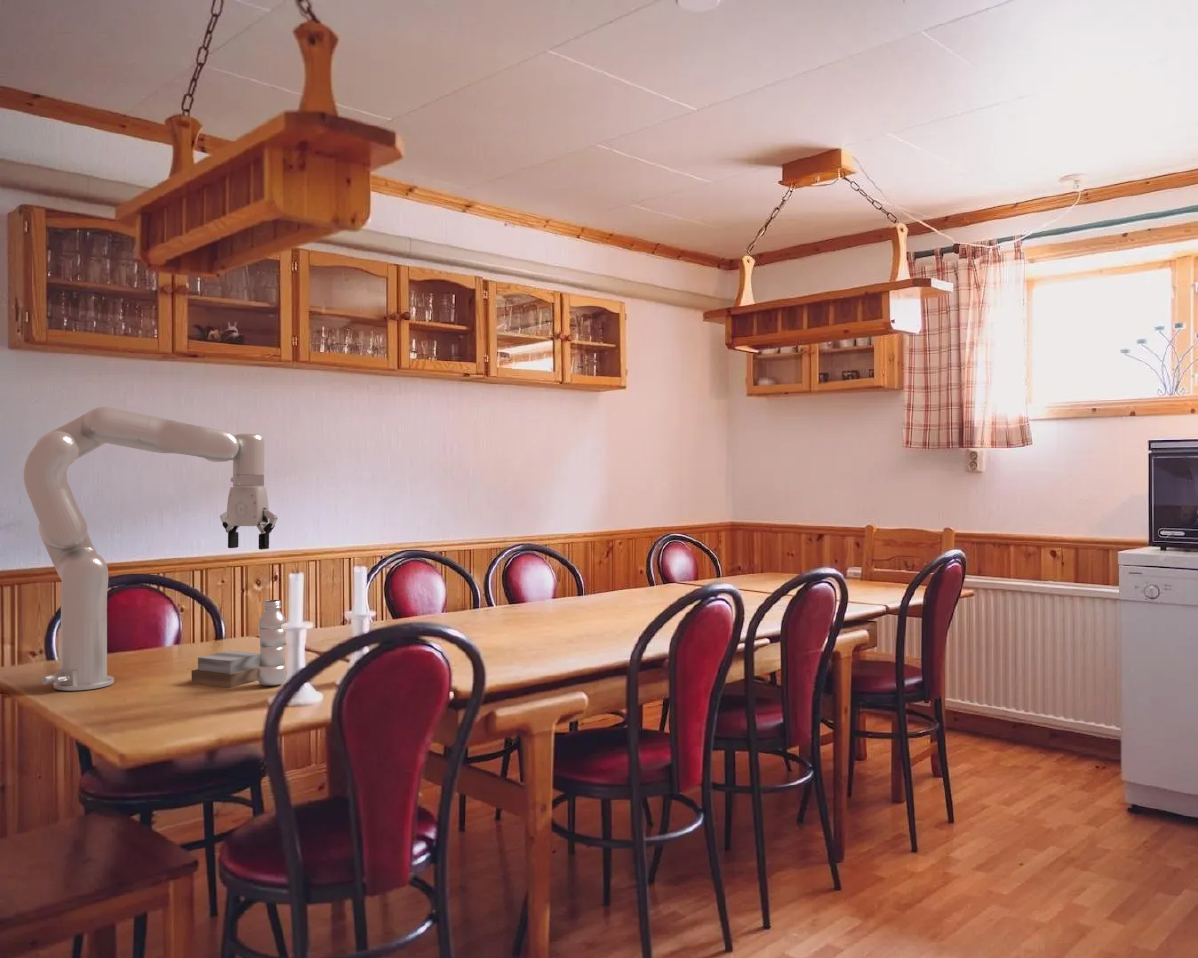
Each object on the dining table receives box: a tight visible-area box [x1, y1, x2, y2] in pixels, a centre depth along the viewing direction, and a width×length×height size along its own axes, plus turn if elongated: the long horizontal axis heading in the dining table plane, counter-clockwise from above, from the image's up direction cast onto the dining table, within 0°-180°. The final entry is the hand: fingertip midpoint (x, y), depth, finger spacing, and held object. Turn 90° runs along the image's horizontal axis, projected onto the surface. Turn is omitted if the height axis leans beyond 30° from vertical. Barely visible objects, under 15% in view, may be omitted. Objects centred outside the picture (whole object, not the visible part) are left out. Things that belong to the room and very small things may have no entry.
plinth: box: [191, 650, 260, 689], centre depth 232 cm, size 12×12×6 cm
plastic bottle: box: [257, 599, 288, 687], centre depth 227 cm, size 6×7×20 cm
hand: (248, 548), depth 247 cm, fingers open, 9 cm apart
